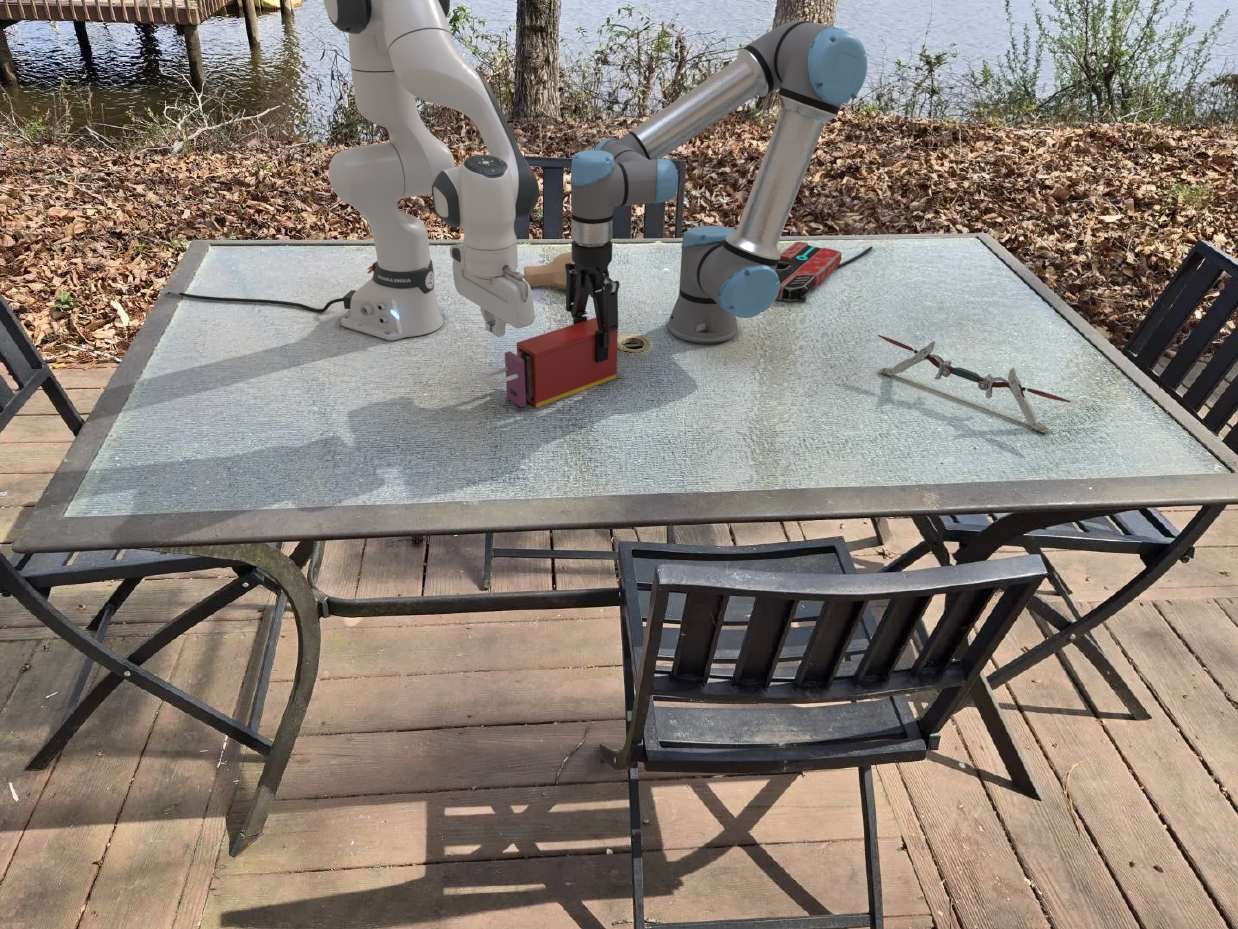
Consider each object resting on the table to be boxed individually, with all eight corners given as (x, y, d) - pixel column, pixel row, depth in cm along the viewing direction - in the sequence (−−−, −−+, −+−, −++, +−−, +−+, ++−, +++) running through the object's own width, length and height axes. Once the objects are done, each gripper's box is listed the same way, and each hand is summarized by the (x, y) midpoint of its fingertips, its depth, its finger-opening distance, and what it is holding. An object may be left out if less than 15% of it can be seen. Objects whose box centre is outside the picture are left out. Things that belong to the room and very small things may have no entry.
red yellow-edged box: (536, 407, 166) (534, 354, 160) (518, 395, 170) (516, 342, 163) (616, 377, 177) (618, 326, 170) (598, 366, 180) (598, 316, 174)
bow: (1060, 435, 162) (1077, 387, 156) (1056, 439, 161) (1073, 391, 155) (873, 366, 183) (882, 322, 178) (869, 369, 182) (878, 325, 177)
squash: (606, 296, 211) (601, 263, 205) (524, 303, 213) (517, 271, 207) (606, 272, 219) (602, 240, 213) (527, 279, 221) (521, 248, 214)
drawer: (493, 417, 161) (490, 371, 156) (479, 407, 164) (476, 361, 159) (598, 378, 174) (598, 335, 169) (583, 369, 177) (583, 326, 172)
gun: (728, 271, 214) (803, 290, 206) (777, 233, 236) (846, 249, 228) (726, 288, 217) (800, 308, 209) (775, 249, 239) (843, 266, 231)
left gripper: (542, 272, 143) (544, 349, 151) (475, 237, 156) (480, 309, 164) (510, 281, 140) (513, 359, 147) (444, 244, 152) (450, 318, 160)
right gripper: (641, 251, 156) (636, 366, 169) (576, 222, 168) (576, 332, 181) (608, 259, 152) (606, 377, 165) (544, 230, 164) (547, 342, 177)
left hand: (495, 332), depth 156 cm, fingers closed
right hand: (591, 354), depth 173 cm, fingers closed on red yellow-edged box, 6 cm apart
